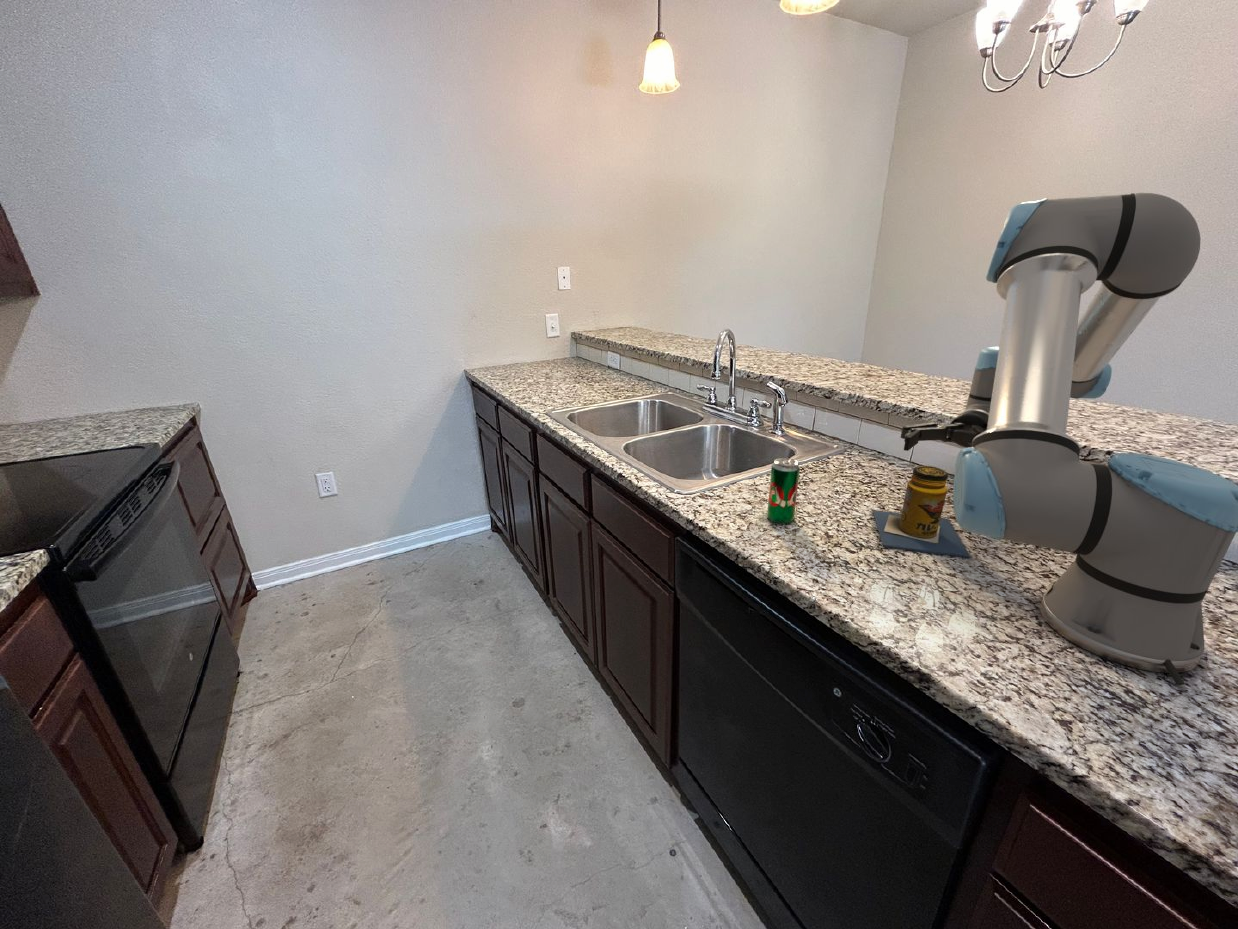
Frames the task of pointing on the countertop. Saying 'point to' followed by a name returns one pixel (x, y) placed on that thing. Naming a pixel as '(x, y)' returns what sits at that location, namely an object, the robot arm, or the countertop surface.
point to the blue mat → (946, 541)
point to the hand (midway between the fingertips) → (946, 451)
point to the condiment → (921, 505)
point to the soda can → (783, 490)
